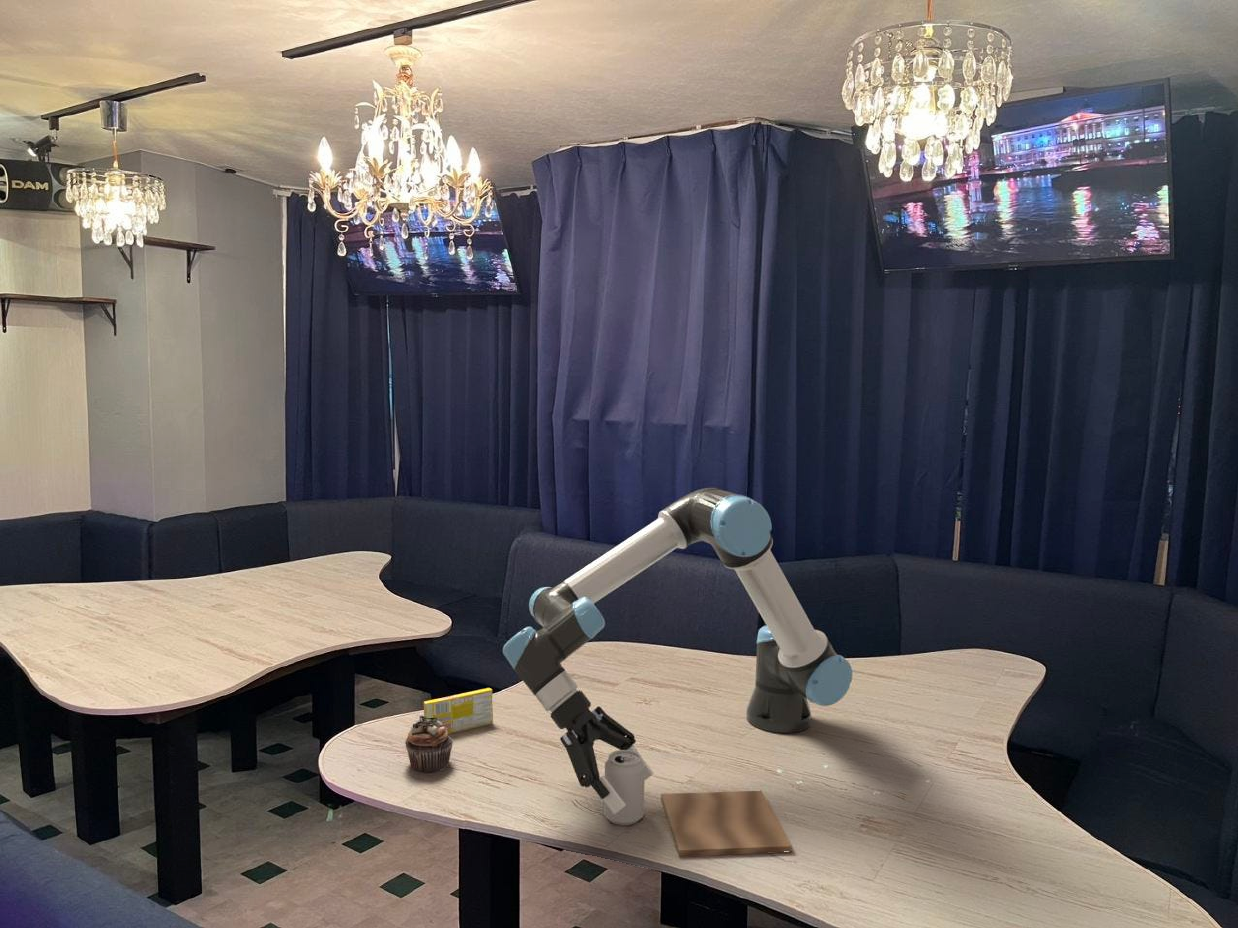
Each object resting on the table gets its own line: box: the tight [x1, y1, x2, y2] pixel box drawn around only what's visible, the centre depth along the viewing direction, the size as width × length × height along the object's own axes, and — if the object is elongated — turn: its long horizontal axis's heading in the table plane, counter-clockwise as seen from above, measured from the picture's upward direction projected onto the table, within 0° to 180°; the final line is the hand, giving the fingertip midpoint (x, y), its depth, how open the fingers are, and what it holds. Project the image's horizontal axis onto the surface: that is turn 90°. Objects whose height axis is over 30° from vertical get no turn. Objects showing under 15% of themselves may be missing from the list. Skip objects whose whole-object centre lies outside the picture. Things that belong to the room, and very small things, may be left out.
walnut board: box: [660, 790, 793, 858], centre depth 167 cm, size 20×20×1 cm
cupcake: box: [405, 715, 454, 774], centre depth 188 cm, size 10×10×10 cm
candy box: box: [423, 687, 494, 735], centre depth 206 cm, size 16×2×8 cm, turn 123°
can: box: [603, 749, 646, 826], centre depth 169 cm, size 8×8×12 cm
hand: (634, 793), depth 168 cm, fingers open, 13 cm apart
